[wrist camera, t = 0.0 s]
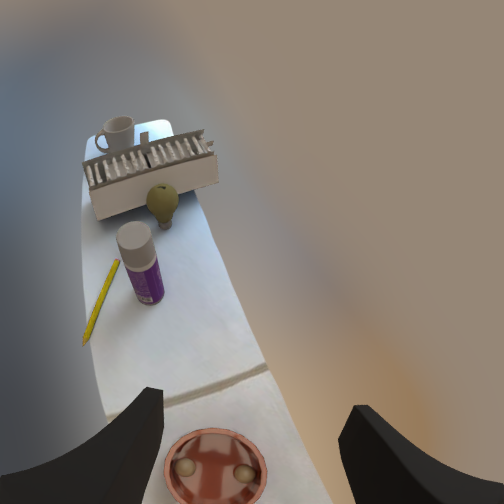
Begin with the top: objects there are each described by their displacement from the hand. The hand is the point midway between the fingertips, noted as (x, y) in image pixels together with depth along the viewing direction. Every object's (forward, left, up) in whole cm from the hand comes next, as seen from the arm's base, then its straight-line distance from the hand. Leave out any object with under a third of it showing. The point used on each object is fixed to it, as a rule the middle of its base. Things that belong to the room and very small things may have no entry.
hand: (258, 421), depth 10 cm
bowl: (-6, +1, -32) cm, 33 cm away
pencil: (+17, +21, -32) cm, 42 cm away
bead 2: (-6, -3, -30) cm, 31 cm away
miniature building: (+45, +20, -24) cm, 55 cm away
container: (+20, +14, -32) cm, 41 cm away
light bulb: (+34, +15, -32) cm, 49 cm away
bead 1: (-6, +4, -30) cm, 31 cm away
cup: (+55, +33, -32) cm, 71 cm away
